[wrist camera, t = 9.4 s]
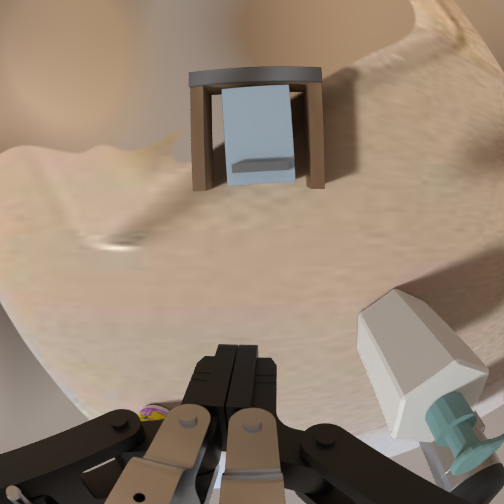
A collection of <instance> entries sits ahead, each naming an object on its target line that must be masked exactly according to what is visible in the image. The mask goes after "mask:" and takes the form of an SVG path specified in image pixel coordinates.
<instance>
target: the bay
mask: <svg viewBox="0 0 504 504" xmlns="http://www.w3.org/2000/svg"><path fill="white" fill-rule="evenodd" d="M321 82H322V72H321V67H289V66H288V67H287V66H284V67H283V66H278V67H276V66H275V67H244V68H229V69H216V70H207V71H198V72H189V87H190V89H191V90H190V91H191V92H190V96H191V97H190V98H191V153H192V180H193V191H206V190H209V189H212V188H214V177H213V147H212V102H211V95H218V94H222V89H229V88H240V87H252V86H269V85H289V92H304V109H305V137H306V186H307V187H309V188H311V189H325V173H324V129H323V106H322V88H321Z"/></svg>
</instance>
